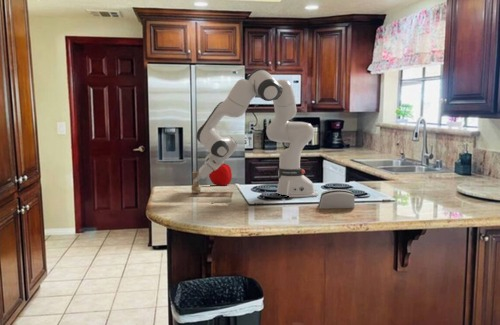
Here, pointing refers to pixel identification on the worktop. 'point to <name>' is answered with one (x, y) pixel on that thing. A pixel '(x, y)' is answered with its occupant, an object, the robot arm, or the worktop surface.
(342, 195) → the grey arched slab
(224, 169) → the tomato
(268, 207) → the worktop surface
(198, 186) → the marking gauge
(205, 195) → the walnut board
